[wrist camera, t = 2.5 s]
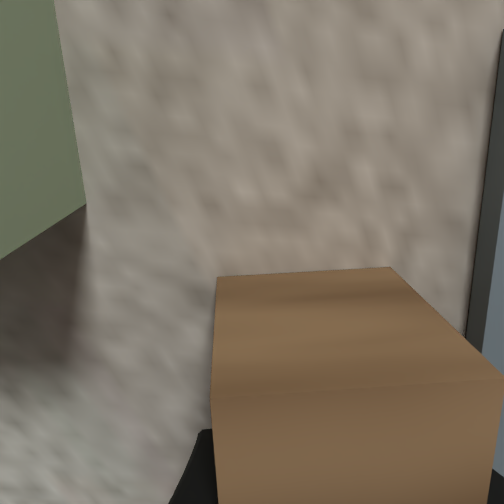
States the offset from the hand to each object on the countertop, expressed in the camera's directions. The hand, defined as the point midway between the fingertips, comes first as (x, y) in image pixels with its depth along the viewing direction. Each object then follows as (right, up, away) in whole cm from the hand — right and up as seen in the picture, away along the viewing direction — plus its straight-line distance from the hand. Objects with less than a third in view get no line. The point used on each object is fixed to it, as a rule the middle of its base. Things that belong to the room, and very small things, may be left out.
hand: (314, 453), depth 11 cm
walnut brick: (0, 0, +1) cm, 1 cm away
